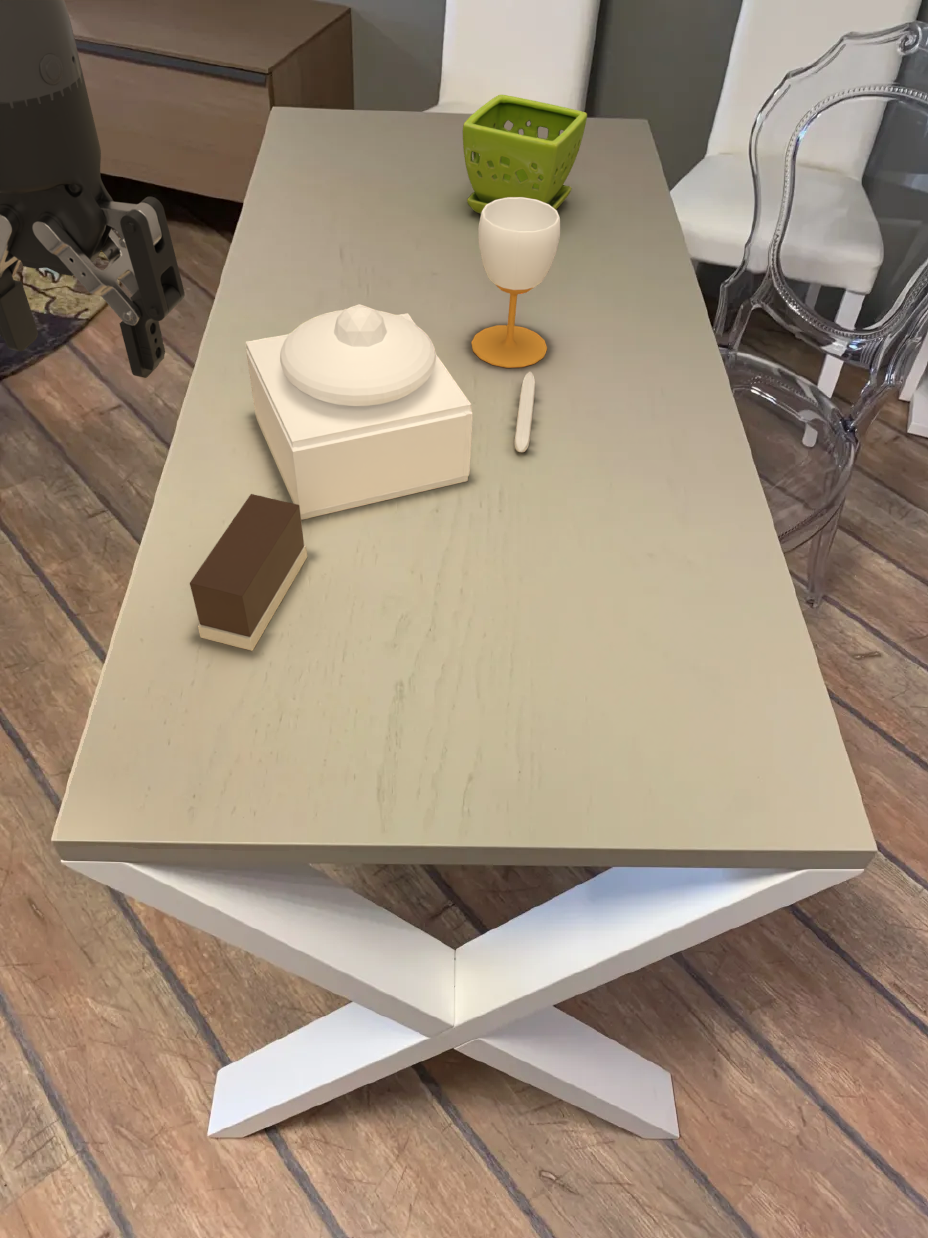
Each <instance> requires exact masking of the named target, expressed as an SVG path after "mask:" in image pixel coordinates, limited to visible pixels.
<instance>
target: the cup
mask: <svg viewBox="0 0 928 1238" xmlns="http://www.w3.org/2000/svg"><path fill="white" fill-rule="evenodd" d="M560 217H561V216H560V214H559V212H558V209H556V210H555V209H554V208H553V207H552V206H550V205H549V204H547V203H544V202H541V201H539V200H536V199H530V198H524V197H508V198H503V199H498V200H494V201H493V202H491V203H489V204H487V205H486V206H485V207H484V209H483V210H482V212H481V214H480V218H479V224H478V227H477V228H478V229H477V230H478V232H477V234H478V248H479V252H480V253H479V254H480V258H481V262H482V266H483V269H484V272H485V274H486V276H487V278H488V280H489V281H490V282H491V283H493V284H494V285H495V286H496V287H497V288H498V289H499V290H500V291H501V292H503V293H506V294H509V301H508V302H509V304H508V313H507V314H508V315H507V324H497V325H494V326H490V327H485V328H484V329H482V330H481V331H479V332H477V333H475V335H474V336H473V338H472V340H471V344H470V345H471V349H472V352H473V353H474V354H475V355H476V356H477V357H478V358H479V359H480V360H481V361H483V362H486V363H488V364H489V365H492V366H496V367H500V368H501V367H502V368H506V369H513V368H515V369H516V368H525V367H529V366H532V365H536V363H538V362H540V361H541V360H542V359H543V358H545V356H546V354H547V351H548V346H547V344H546V340H545V339H544V338H543V337H541V336H540V335H539V334H538V333H537V332H535V331H534V330H531V329H529V328H527V327H524V326H519V325H516V313H517V304H518V303H517V302H518V295H522V294H523V295H524V294H527V293H528V292H530V291H531V290H533V289H535V288H536V287H537V286H539V285H540V284H542V282H543V281H544V279H545V278H546V276H547V274H548V273H549V271H550V269H551V267H552V264H553V262H554V259H555V258H556V255H557V252H558V248H559V242H560V238H561V218H560Z"/></svg>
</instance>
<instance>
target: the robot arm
mask: <svg viewBox="0 0 928 1238" xmlns="http://www.w3.org/2000/svg"><path fill="white" fill-rule="evenodd" d="M73 30H74V29H73V27H72V22H71V18H70V13H69V10H68V7H67V4H66V1H65V0H0V337H1V338H2V339H3V340H4V341H5V344H6V347H7V349H9V350H12V351H17V352H24V351H25V350H26V349H27V348H28V347H29V346H31V345H32V344H33V343H34V342H35V341H36V340H37V338H38V335H39V331H38V327H37V324H36V321H35V318H34V315H33V312H32V309H31V306H30V303H29V300H28V296H27V294H26V290H25V287H24V285H23V282H22V280H21V281H20V280H16V279H14V276H15V275H16V274H17V273H18V272H17V271H18V269H19V267H20V265H21V264H22V267H24V268H29V269H34V270H35V269H36V270H37V269H48V270H50V271H53V272H55V273H58V274H59V275H65V276H69V277H73V276H74V278H76V279H77V280H78V282H79V283H80V284H81V285H82V286H83V287H84V288H85V289H86V291H87V292H88V293H89V294H91V295H93V296H99V297H101V298H102V300H104V302H106V304H107V305H108V306H109V307H110V309H112V310H113V312H114V313H115V314H116V315H117V316H118V317H119V319H120V320H121V322H118V323H119V327H120V332H121V335H122V339H123V343H124V347H125V351H126V356H127V358H128V359H127V360H128V364H129V367H130V371H131V374H132V375H133V376H135V377H139V378H144V379H146V378H148V377H149V376H150V375H151V374H152V373H154V371H155V370H156V369H157V368H158V366H159V365H160V363H162V361H163V360H164V359H165V355H166V348H165V344H164V340H163V334H162V329H161V325H160V322H161V321H163V320H164V319H165V318H166V317H167V316H168V315H169V314H170V313H171V312H172V311H173V310H174V309H175V307H177V306H178V305H179V304H180V303H181V301H182V300H183V299H185V296H186V295H185V293H186V292H185V289H184V285H183V280H182V276H181V274H180V269H179V265H178V260H177V256H176V253H175V249H174V244H173V241H172V237H171V236H172V235H171V233H170V228H169V225H168V221H167V220H168V219H167V217H166V213H165V208H164V206H163V204H162V203H161V201H160V200H159V199H158V198H156V197H153V196H147V197H145V198H144V199H142V200H141V201H140V202H139V203H129V202H120V201H114V200H113V197H112V196H111V195H110V194H109V192H108V190H107V189H106V187H105V185H104V183H103V180H102V176H101V161H102V160H101V159H102V152H101V151H102V149H101V145H100V141H99V136H98V132H97V128H96V123H95V119H94V116H93V111H92V107H91V101H90V98H89V94H88V89H87V86H86V85H87V84H86V81H85V77H84V73H83V69H82V65H81V62H80V61H81V60H80V56H79V52H78V48H77V43H76V38H75V35H74V31H73ZM113 229H114V230H115V232H114V231H113ZM116 232H117V234H118V235H119V236H118V235H117V234H116ZM101 252H102V253H103V254H104V255H105V257H106V258H107V261H108V264H107V266H106V267H105V268H104V269H100V268H98V267H97V266H96V265H95V264H94V262H95V261H96V260H97V259H98V257H99V256H100V253H101ZM118 281H119V282H120V283H121V284H122V285H123V286H124V287H125V289H126V290H127V291H128V293H130V295H131V296H129V295H128V293H127V292H126V291H125V290H124V289H123V288H122V286H121V285H120V284H119V282H118Z"/></svg>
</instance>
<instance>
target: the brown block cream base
mask: <svg viewBox="0 0 928 1238" xmlns="http://www.w3.org/2000/svg"><path fill="white" fill-rule="evenodd" d="M307 549H308V548H307V545H306V544H305V541H304V533H303V524H302V520H301V515H300V506H299V505H297V504H293V502H288V501H284V500H280V499H276V498H270V497H268V496H267V497H266V496H262V495H259V494H254V493H251V494H249V496H248V497H247V499H246V500H245V502H243V505H242V506H241V508H240V509H239V511H238V512H237V514H236V515H235V516H234V518H233V519H232V521H231V522H230V524H228V527H227V528H226V529H225V531H224V532H223V534H221V537H220V538H219V540H218V541H217V543H216V544H215V545H214V547H213V548H212V550H211V551H210V552H209V554H208V555H207V557H206V559H205V560H204V562H203V563H202V564H201V565H200V567H199V568H198V570H197V572H196V573H195V574H194V575H193V577H192V579H191V580H190V582H189V586H190V590H191V594H192V598H193V602H194V607H195V611H196V615H197V619H198V625H197V629H198V633H199V637H200V638H201V639H204V640H208V641H213V642H217V643H221V644H224V645H228V646H231V647H232V646H233V647H236V648H240V649H244V650H248V651H254V649H255V647H256V646H257V644H258V642H259V640H260V639H261V636H263V634H264V632H265V630H266V628H267V627H268V625H269V623H270V622H271V620H272V618H273V617H274V615H275V614H276V611H277V610H278V608H279V606H280V604H281V602H282V601H283V600H284V597H285V596H286V594H287V593H288V591H289V589H290V588H291V586H292V584H293V583H294V581H295V580H296V577H297V575H298V574H299V572H300V570H301V569H302V567H303V565H304V564H305V562H306V561H307V558H308V550H307Z"/></svg>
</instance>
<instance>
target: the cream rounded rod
mask: <svg viewBox="0 0 928 1238" xmlns="http://www.w3.org/2000/svg"><path fill="white" fill-rule="evenodd" d="M522 379H523V380H522V384H521V387H520V393H519V400H518V401H519V402H518V409H517V410H518V411H517V416H516V417H517V418H516V423H515V424H516V425H515V433H514V441H513V445H514V448H515V450H516V452H519V453H524V452H526V451H527V449H528V448H529V446H530V440H531V431H532V423H533V412H534V402H535V393H536V380H535V377H534V374H533V373H532V371H528V372H527V373H526V374H525V375H524V378H522Z"/></svg>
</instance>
